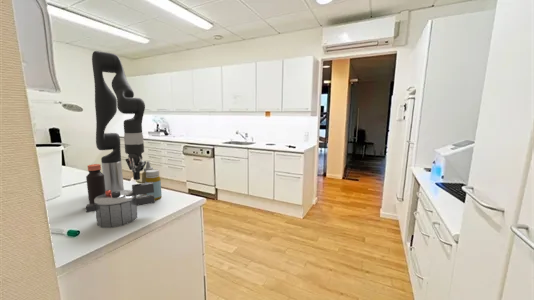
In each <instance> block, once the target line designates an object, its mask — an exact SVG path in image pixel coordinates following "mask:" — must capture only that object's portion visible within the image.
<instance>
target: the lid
mask: <svg viewBox="0 0 534 300" xmlns="http://www.w3.org/2000/svg"><path fill="white" fill-rule="evenodd" d="M153 192H154V185H153V182H148V183H142V182H141V183H136V184H135V183H134V184H131V189H128V190H125V189H124V190H122V191H114V192H111V190H107V191H105V194H102V195H99V196H97V197H96V198H95V199H94V203H95V204H96V205H100V206H110V205H117V204H122V203H126V202H129V201H131V200H133V199H135V198H136V197H137V196H140V195H141V196H142V195H147V193H153Z"/></svg>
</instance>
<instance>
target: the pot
mask: <svg viewBox="0 0 534 300" xmlns="http://www.w3.org/2000/svg"><path fill="white" fill-rule="evenodd" d="M155 203H156V200H154V195H147V194H146V195H141V196H140V195H139V196H136V198H135V199H133V200H131V201H129V202H126V203H122V204H117V205H110V206H100V205H96V204H95V203H92V204H89V203H87V204H86V205H85V212H86V213H92V212H93V213H94V212H95V216H96V225H97V227H99V228H102V229H113V228H118V227H123V226H125V225H129V224H131V223H133V222H135V221H136V220H137V219H138V206H146V205H150V204H155Z"/></svg>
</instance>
